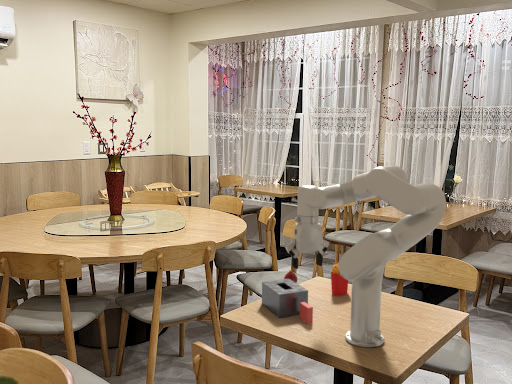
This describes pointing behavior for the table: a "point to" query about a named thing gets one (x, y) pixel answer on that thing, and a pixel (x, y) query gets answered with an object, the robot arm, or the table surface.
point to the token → (306, 312)
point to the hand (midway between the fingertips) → (307, 266)
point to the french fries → (338, 282)
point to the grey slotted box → (283, 297)
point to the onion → (291, 276)
